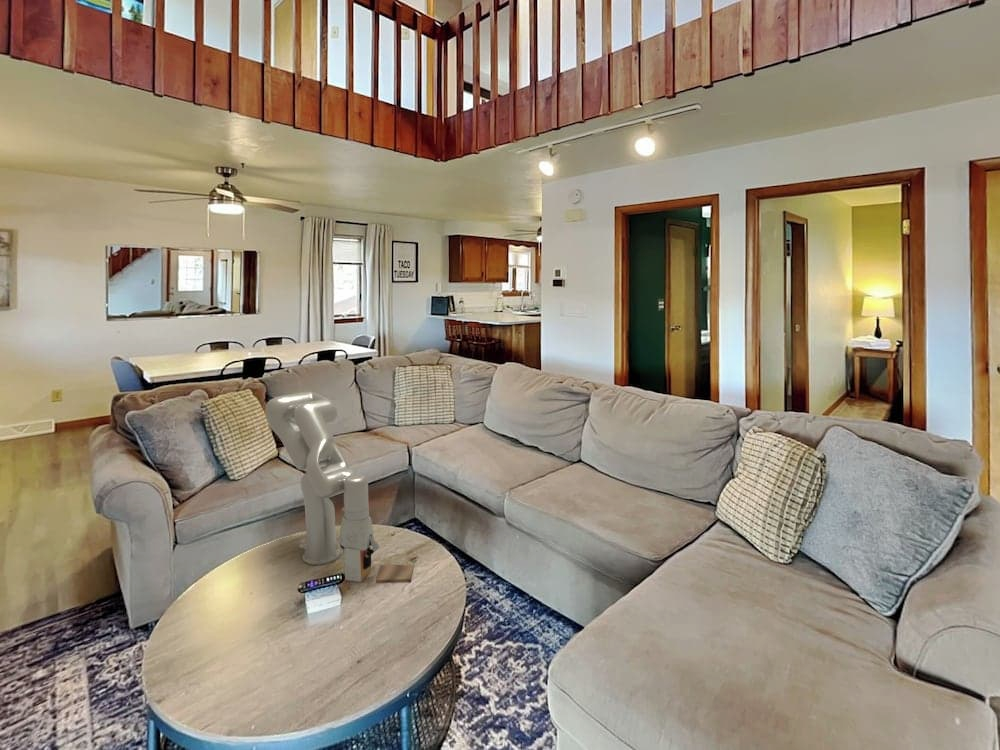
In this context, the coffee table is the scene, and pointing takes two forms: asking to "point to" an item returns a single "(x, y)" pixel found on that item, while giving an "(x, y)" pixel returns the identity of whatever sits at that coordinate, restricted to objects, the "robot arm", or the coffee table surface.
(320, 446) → the robot arm
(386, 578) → the walnut coaster board
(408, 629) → the coffee table surface
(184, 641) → the coffee table surface
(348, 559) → the small box
